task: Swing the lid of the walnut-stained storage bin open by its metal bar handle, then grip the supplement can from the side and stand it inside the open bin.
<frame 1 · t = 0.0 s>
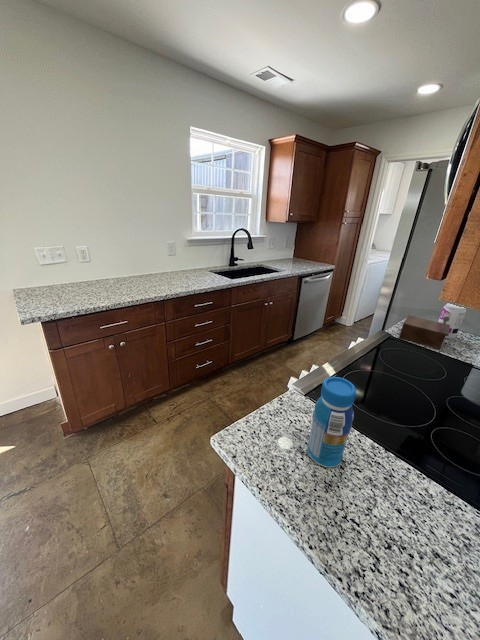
bin lid: (428, 318, 116), point 10 cm above the worktop, hinge at 0.0°
storage bin: (420, 339, 121), on the worktop
beverage bottle: (324, 453, 63), on the worktop
supplement can: (444, 335, 125), on the worktop
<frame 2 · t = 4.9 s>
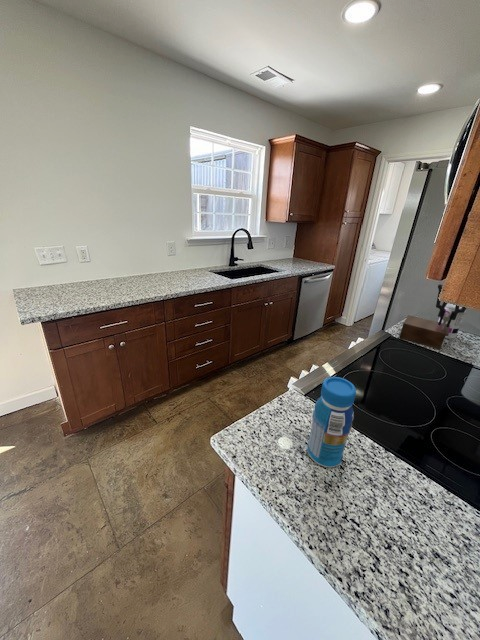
hand: (443, 325, 113), 9 cm above the worktop, tool pointing down, fingers closed on bin lid, 2 cm apart
bin lid: (428, 318, 116), point 10 cm above the worktop, hinge at 0.0°, touching gripper
everything else where it was.
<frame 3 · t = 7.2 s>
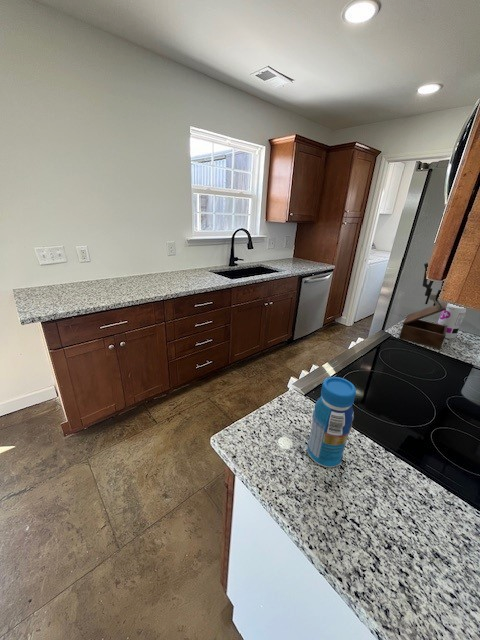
hand: (430, 304, 114), 17 cm above the worktop, tool pointing down, fingers closed on bin lid, 2 cm apart
bin lid: (421, 306, 116), point 15 cm above the worktop, hinge at 40.5°, touching gripper
everything else where it was.
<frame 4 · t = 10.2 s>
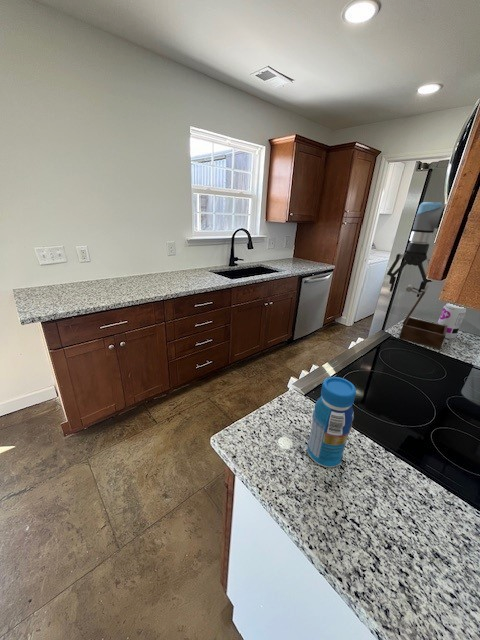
hand: (404, 293, 119), 19 cm above the worktop, tool pointing down, fingers open, 10 cm apart
bin lid: (408, 301, 119), point 16 cm above the worktop, hinge at 76.4°
everything else where it was.
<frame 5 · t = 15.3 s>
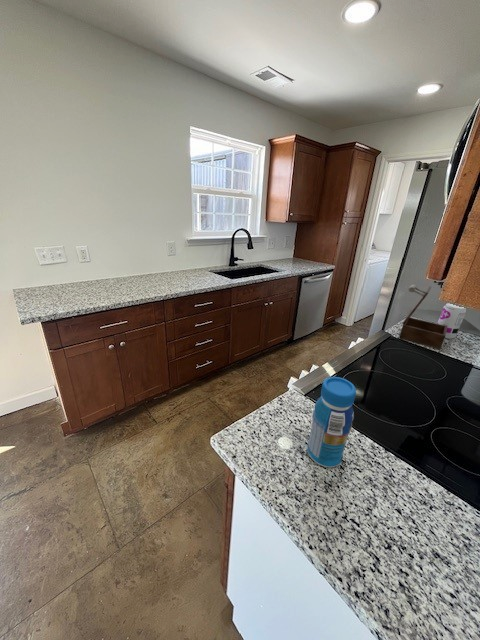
hand: (460, 287, 122), 22 cm above the worktop, tool horizontal, fingers open, 13 cm apart
bin lid: (409, 301, 119), point 16 cm above the worktop, hinge at 72.7°
everything else where it was.
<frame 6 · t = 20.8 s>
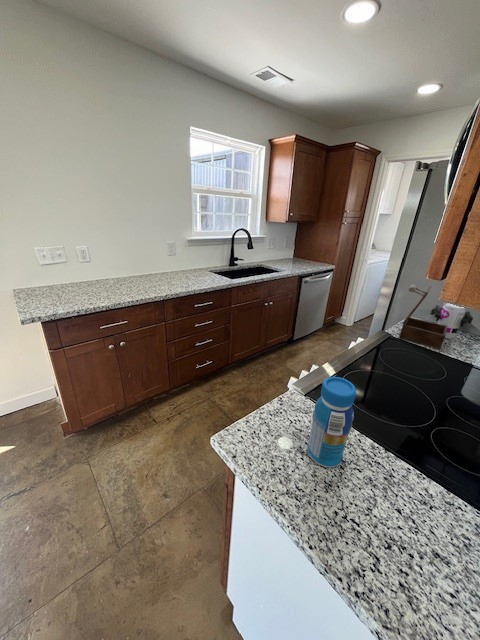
hand: (450, 321, 118), 9 cm above the worktop, tool horizontal, fingers closed on supplement can, 8 cm apart
supplement can: (444, 335, 125), on the worktop, touching gripper
everything else where it was.
when the fingers open (10 cm above the worktop, at t = 29.3 s): supplement can stays where it is, resting on storage bin.
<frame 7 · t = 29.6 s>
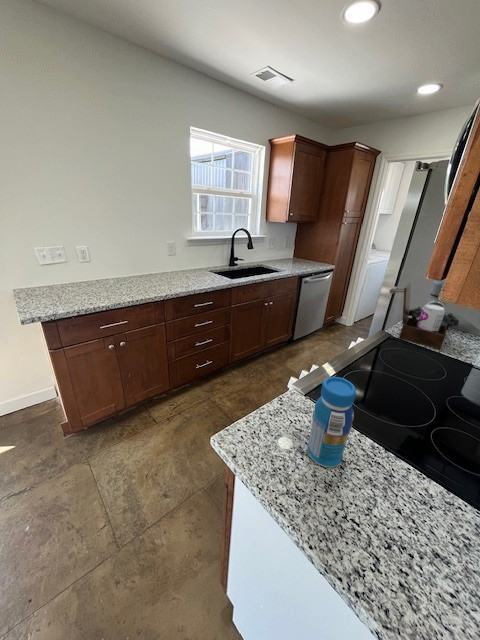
hand: (431, 323, 113), 10 cm above the worktop, tool horizontal, fingers open, 11 cm apart
bin lid: (398, 302, 122), point 15 cm above the worktop, hinge at 101.2°, touching hand
supplement can: (423, 338, 120), point 1 cm above the worktop, touching storage bin
everything else where it was.
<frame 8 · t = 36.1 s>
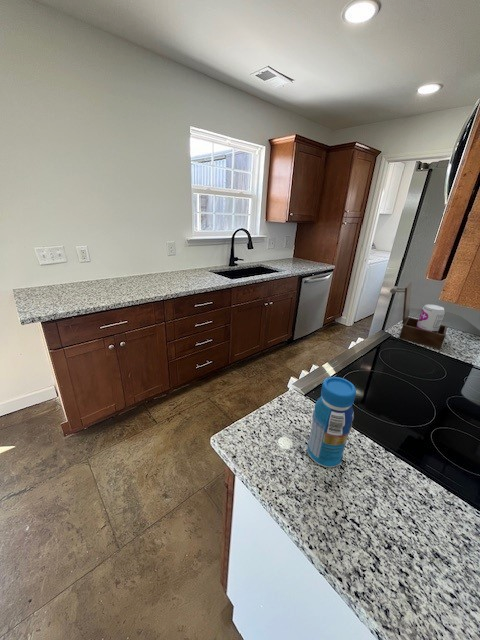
bin lid: (399, 302, 121), point 15 cm above the worktop, hinge at 100.4°
everything else where it was.
at the end: bin lid at +100° (first picture: +0°); supplement can inside the target area in the storage bin (1.0 cm from its centre), point 0.6 cm above the storage bin's base; supplement can tilted 0° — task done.
